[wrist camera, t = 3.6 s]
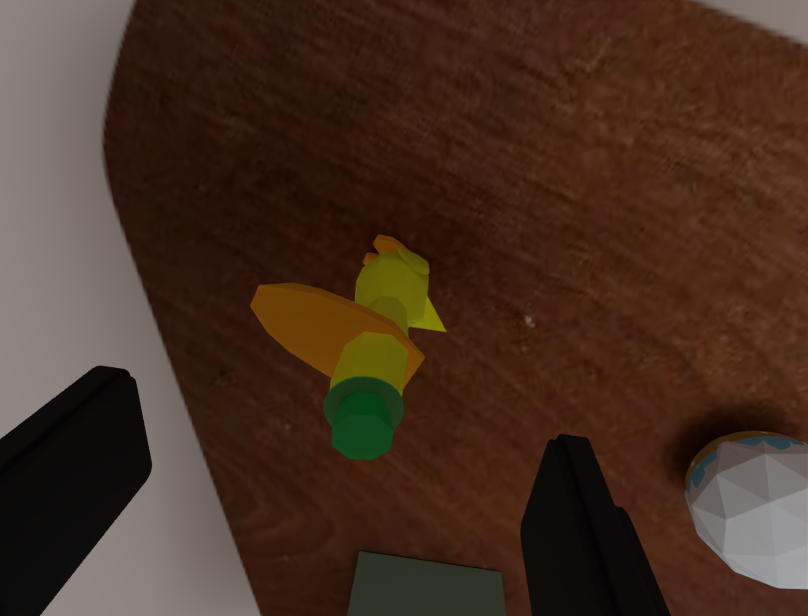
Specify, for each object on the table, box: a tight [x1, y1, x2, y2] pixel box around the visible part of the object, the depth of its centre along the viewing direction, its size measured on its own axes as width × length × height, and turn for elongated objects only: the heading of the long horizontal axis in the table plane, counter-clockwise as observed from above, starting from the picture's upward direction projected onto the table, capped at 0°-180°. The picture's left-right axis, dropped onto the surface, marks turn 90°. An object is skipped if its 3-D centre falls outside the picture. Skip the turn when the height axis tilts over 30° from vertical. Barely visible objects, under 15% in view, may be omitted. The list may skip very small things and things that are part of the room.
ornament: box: [684, 431, 808, 589], centre depth 21 cm, size 7×7×8 cm
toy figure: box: [250, 234, 446, 460], centre depth 16 cm, size 7×4×12 cm, turn 61°
